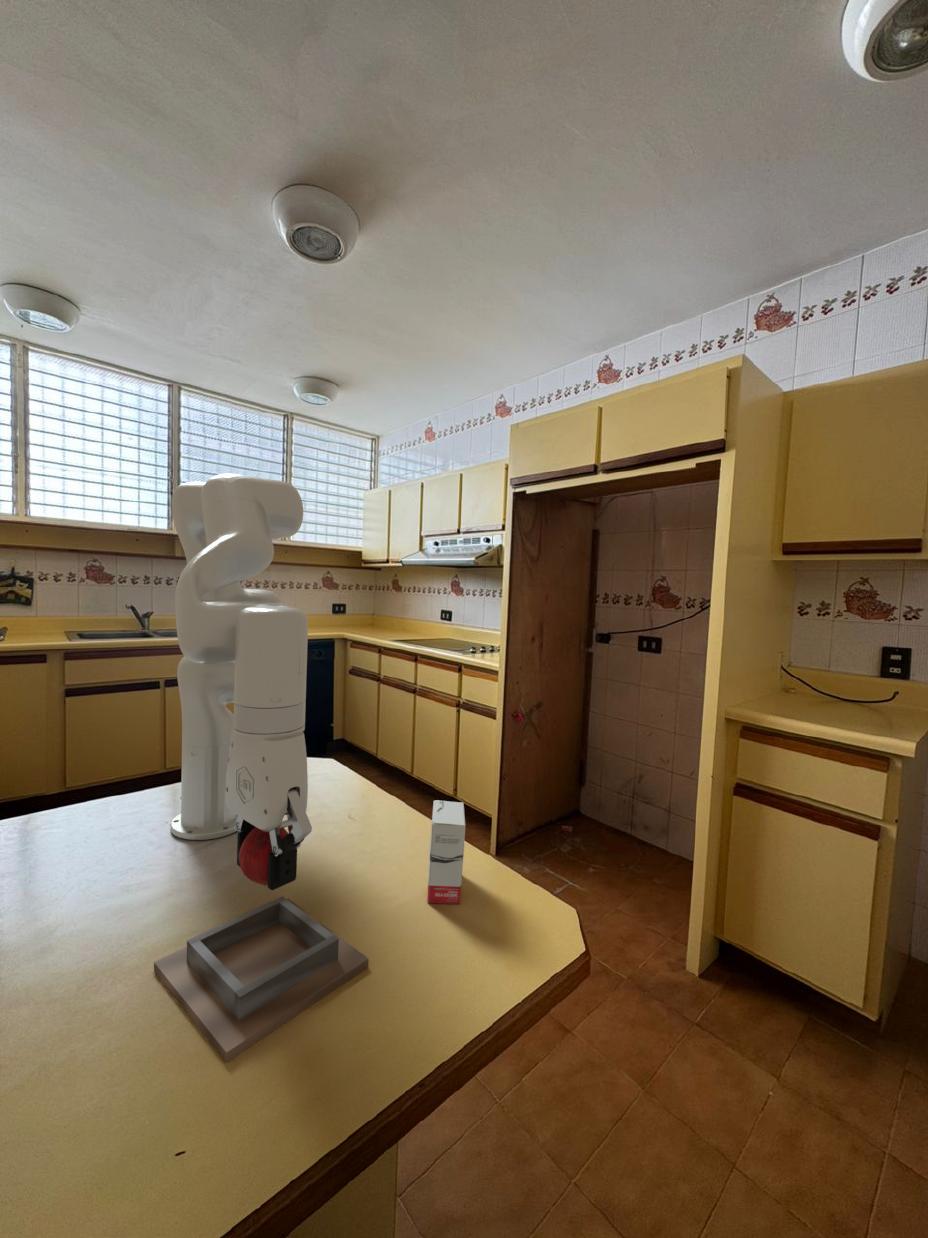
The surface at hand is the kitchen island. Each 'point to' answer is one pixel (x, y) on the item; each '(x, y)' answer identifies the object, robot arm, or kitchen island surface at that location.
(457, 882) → the ink box
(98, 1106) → the kitchen island surface
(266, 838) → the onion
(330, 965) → the dock
